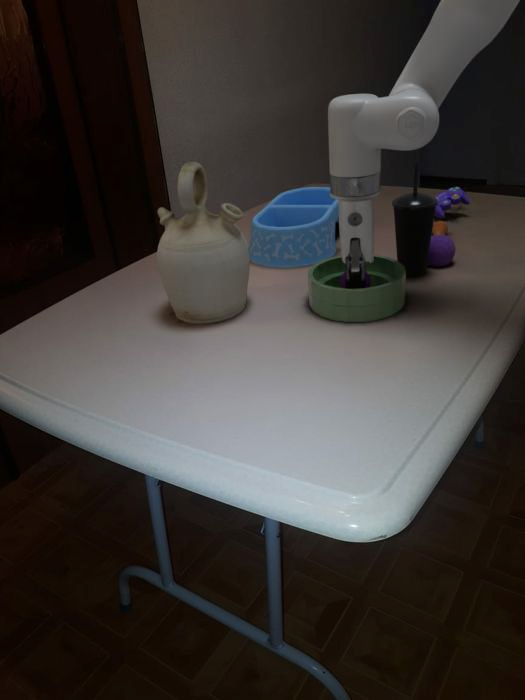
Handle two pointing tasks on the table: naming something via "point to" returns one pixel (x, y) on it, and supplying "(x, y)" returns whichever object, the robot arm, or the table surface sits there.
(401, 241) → the drinking cup
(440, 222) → the maraca
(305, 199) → the dog bowl
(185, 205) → the jug
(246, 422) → the table surface
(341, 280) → the ball
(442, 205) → the game controller
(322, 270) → the bowl
